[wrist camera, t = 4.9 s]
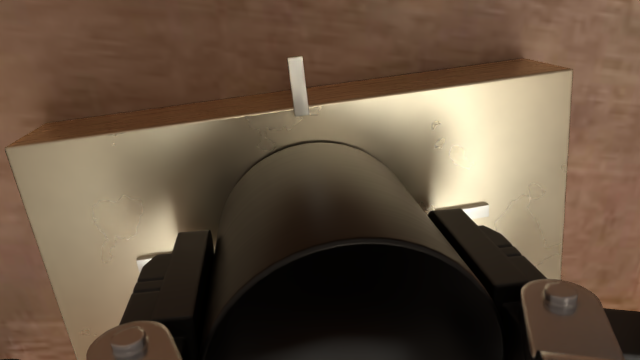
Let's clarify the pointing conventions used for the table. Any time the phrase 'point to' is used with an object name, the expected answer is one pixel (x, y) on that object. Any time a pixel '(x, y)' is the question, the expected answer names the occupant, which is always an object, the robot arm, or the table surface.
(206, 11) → the table surface
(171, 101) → the table surface
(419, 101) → the panel
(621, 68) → the table surface
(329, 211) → the hob knob
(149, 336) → the robot arm
